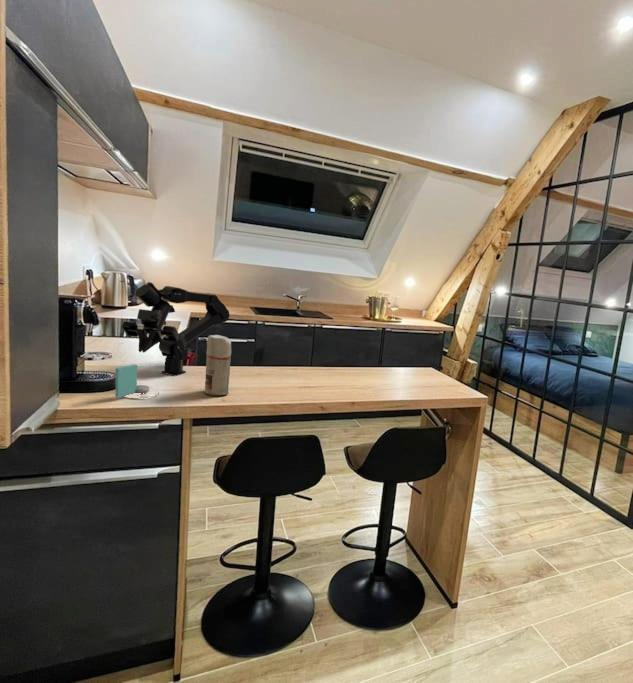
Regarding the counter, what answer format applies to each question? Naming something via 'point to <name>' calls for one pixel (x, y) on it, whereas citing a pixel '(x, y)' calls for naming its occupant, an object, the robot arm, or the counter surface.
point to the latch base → (149, 393)
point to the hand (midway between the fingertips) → (141, 351)
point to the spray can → (217, 365)
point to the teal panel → (128, 381)
